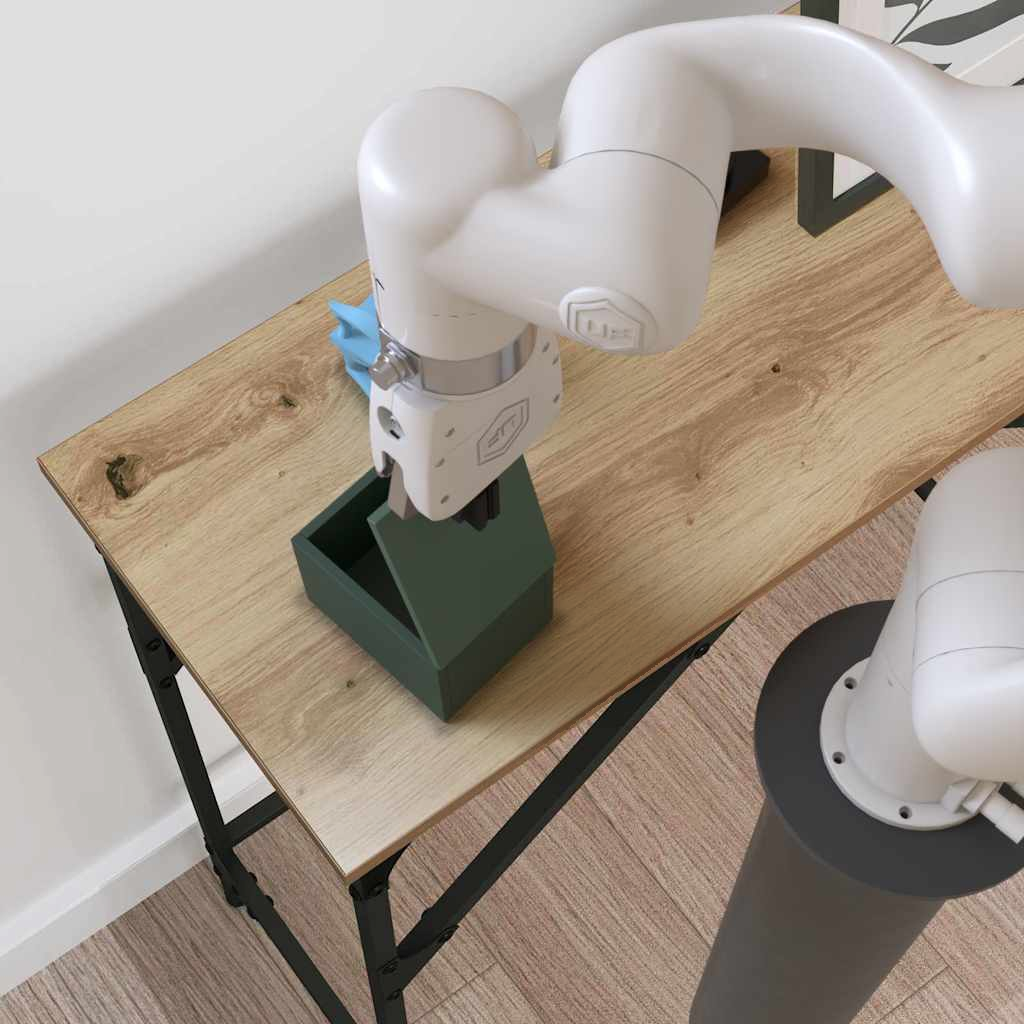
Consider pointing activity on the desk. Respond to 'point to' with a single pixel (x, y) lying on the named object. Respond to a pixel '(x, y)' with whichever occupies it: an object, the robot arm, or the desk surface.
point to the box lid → (466, 564)
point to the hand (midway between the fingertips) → (470, 507)
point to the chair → (357, 338)
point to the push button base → (743, 176)
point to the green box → (402, 603)
